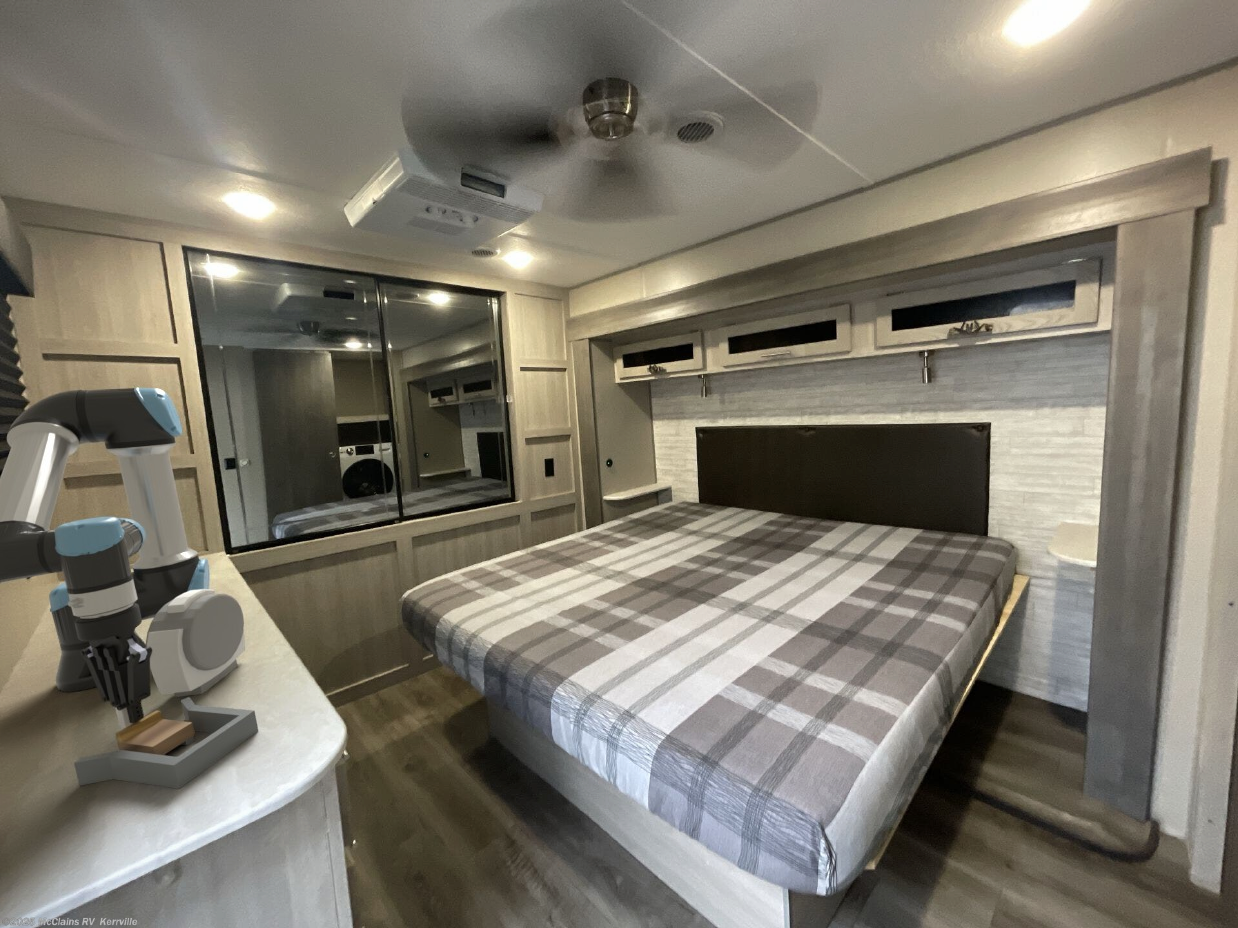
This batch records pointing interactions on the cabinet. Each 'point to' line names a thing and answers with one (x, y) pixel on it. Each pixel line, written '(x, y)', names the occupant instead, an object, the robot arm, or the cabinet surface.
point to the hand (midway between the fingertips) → (135, 737)
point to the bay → (172, 770)
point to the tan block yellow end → (155, 735)
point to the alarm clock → (195, 641)
